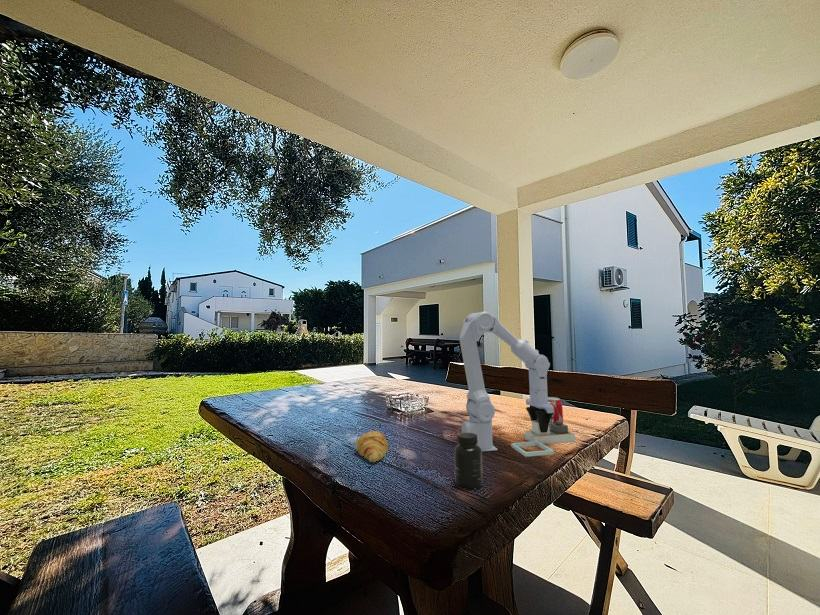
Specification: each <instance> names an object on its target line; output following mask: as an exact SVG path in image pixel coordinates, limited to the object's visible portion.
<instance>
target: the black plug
mask: <svg viewBox="0 0 820 615" xmlns="http://www.w3.org/2000/svg"><path fill="white" fill-rule="evenodd" d="M550 428H551V432H553V433H555V434H566V433H568V431H569V426H568V425H566V424H564V423H563V424H562V421H559V420H557V421H556V423H553V424H550Z"/></svg>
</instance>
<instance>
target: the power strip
mask: <svg viewBox="0 0 820 615" xmlns="http://www.w3.org/2000/svg"><path fill="white" fill-rule="evenodd" d="M523 433H524V440H526V441H527V442H534V441H538V442H540V443H542V444H544V445H551V444H562V443H563V444H564V443H573V442H576V434H575V433H574V432H572V431H570V430H568V433H566V434H555V433H553V432H551V429H549V433H550V435H541V436H537V435H535V434H533V433H532V430H524V432H523Z"/></svg>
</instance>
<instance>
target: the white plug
mask: <svg viewBox="0 0 820 615" xmlns="http://www.w3.org/2000/svg"><path fill="white" fill-rule="evenodd" d="M531 431H532V433H533V434H535V435H537V436H541V435H550V433H549V426H548V431H547V432H543V433H542V432H541V431H540V427H539V421H538V418H537V420H536V421H531Z"/></svg>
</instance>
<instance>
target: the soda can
mask: <svg viewBox="0 0 820 615" xmlns="http://www.w3.org/2000/svg"><path fill="white" fill-rule="evenodd" d="M548 402H551V404H550V405H551V406H553V407H554V413H553V415H552V417H551V419H550V422H549V429H551V428H550V424H553V423H556V421H557V420H559V421H562V424H564V410H563V403H562V401H561V398H559V397H555V396H548Z"/></svg>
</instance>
